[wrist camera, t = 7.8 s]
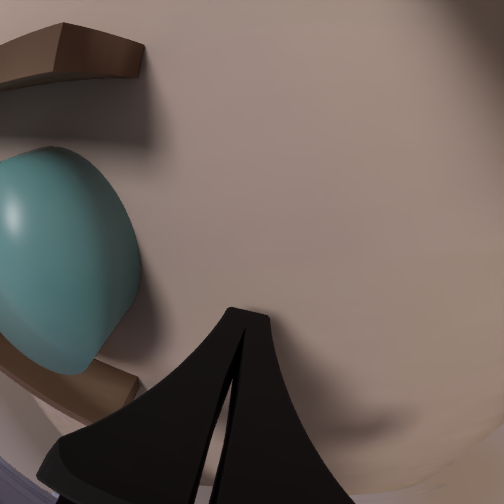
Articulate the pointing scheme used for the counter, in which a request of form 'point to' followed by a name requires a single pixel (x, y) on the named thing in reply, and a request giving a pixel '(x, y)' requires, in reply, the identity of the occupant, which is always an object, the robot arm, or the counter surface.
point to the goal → (50, 71)
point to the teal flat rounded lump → (62, 258)
